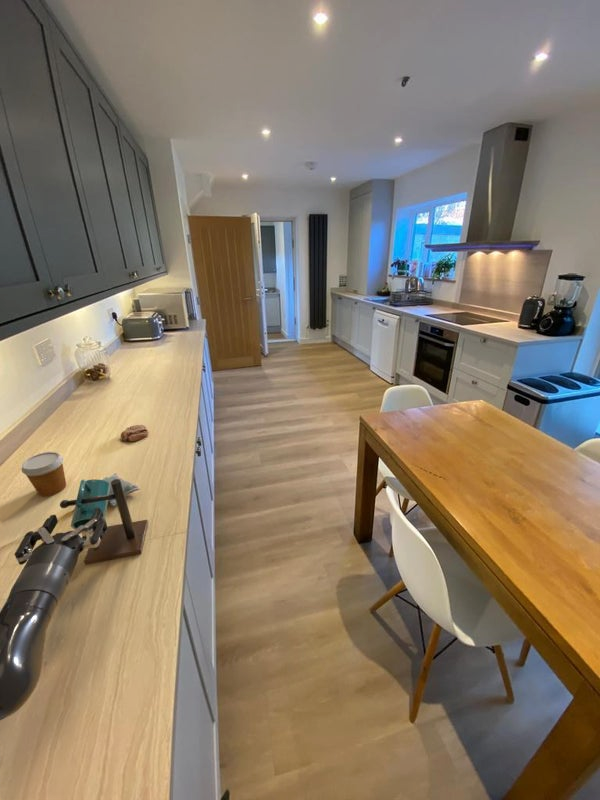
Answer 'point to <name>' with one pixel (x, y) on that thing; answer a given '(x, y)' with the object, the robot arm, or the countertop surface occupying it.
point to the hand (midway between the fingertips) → (76, 514)
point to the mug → (86, 510)
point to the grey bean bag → (126, 486)
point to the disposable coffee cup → (45, 473)
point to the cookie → (134, 433)
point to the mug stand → (116, 529)
